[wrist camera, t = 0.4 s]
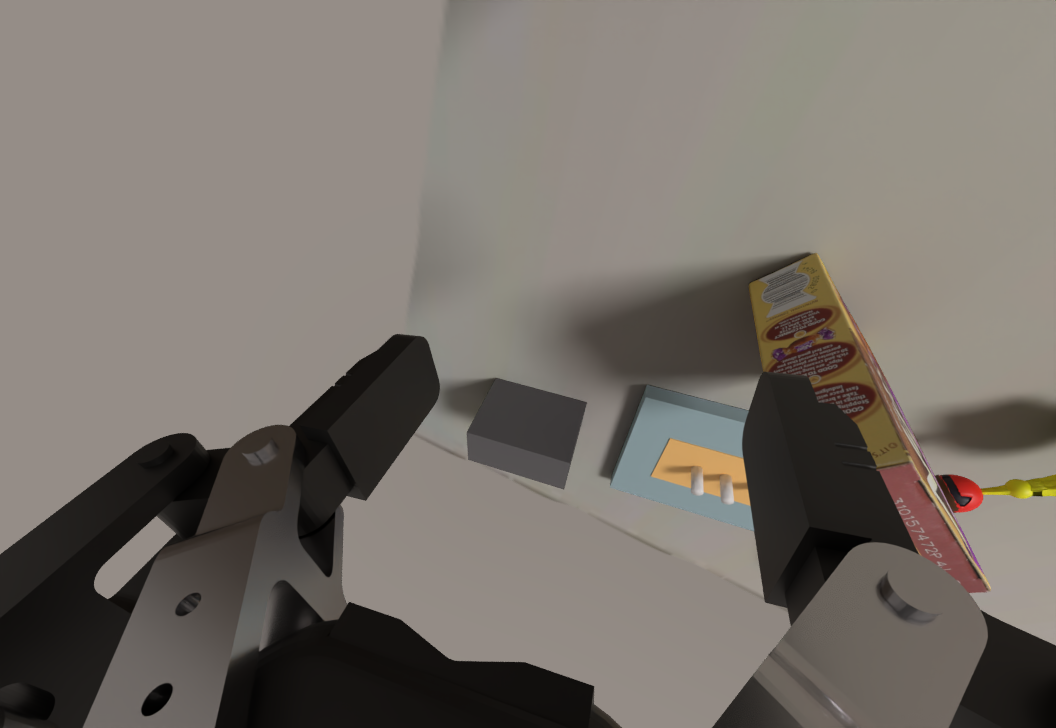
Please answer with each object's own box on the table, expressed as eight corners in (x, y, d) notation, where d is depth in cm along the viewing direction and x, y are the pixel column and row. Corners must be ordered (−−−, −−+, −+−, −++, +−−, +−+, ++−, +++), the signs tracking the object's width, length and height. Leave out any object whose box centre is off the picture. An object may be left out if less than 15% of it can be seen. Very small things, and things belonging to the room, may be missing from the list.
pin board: (647, 384, 33) (642, 419, 30) (883, 445, 30) (904, 490, 27) (611, 475, 43) (606, 508, 40) (789, 528, 40) (797, 568, 37)
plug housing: (495, 378, 38) (466, 432, 33) (586, 402, 37) (570, 463, 32) (495, 405, 41) (468, 459, 36) (580, 429, 39) (564, 489, 34)
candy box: (739, 285, 26) (777, 484, 15) (814, 248, 23) (928, 456, 12) (800, 376, 29) (868, 599, 18) (872, 352, 26) (1007, 597, 15)
